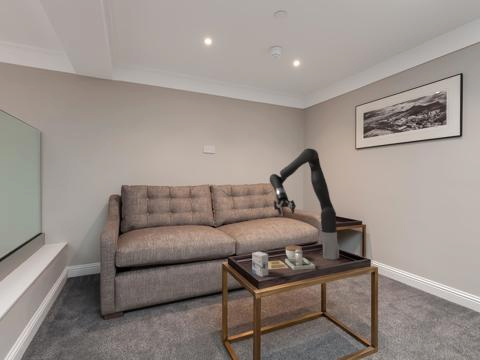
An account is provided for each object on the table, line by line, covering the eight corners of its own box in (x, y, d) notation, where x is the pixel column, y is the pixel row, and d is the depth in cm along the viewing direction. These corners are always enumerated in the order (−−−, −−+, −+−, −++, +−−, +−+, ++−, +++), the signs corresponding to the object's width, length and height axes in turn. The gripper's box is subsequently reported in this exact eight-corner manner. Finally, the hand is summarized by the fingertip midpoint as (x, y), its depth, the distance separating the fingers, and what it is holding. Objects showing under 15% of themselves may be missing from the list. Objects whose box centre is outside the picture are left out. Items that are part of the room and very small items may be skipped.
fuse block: (282, 263, 157) (282, 259, 157) (288, 269, 145) (288, 265, 145) (264, 264, 155) (263, 260, 155) (268, 270, 143) (268, 266, 143)
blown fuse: (301, 263, 152) (300, 249, 152) (303, 265, 148) (302, 250, 148) (294, 264, 151) (294, 249, 152) (297, 266, 147) (296, 251, 148)
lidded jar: (283, 257, 169) (282, 244, 169) (297, 256, 171) (297, 242, 172) (290, 262, 158) (289, 247, 159) (305, 260, 161) (304, 245, 161)
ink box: (252, 274, 138) (251, 252, 139) (259, 272, 141) (258, 251, 142) (262, 278, 131) (261, 255, 132) (269, 276, 134) (268, 254, 135)
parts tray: (304, 261, 159) (304, 257, 159) (315, 269, 142) (315, 265, 142) (285, 262, 157) (284, 258, 157) (294, 271, 141) (293, 266, 141)
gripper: (272, 192, 172) (277, 210, 161) (292, 191, 174) (298, 209, 162) (270, 199, 178) (275, 217, 166) (289, 198, 179) (296, 216, 168)
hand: (287, 213), depth 164 cm, fingers open, 8 cm apart
